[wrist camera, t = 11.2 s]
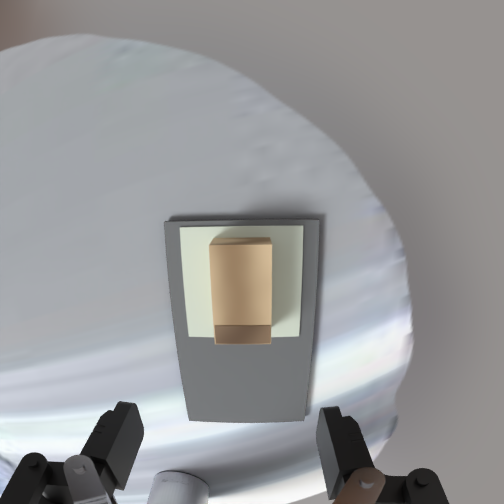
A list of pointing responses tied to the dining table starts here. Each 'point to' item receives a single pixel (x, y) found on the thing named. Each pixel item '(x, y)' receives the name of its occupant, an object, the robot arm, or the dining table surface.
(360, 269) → the dining table surface
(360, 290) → the dining table surface
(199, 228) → the mat
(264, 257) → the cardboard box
